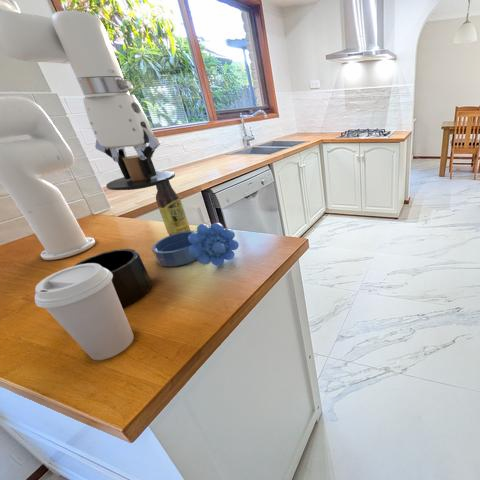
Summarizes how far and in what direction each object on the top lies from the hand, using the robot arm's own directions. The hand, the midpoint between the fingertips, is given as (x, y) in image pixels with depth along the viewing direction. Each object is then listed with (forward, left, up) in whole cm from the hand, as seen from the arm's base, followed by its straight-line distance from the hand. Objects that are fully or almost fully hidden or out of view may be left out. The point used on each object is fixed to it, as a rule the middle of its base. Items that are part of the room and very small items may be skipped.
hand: (140, 176), depth 67 cm
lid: (0, 0, -1) cm, 1 cm away
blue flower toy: (+15, +1, -23) cm, 28 cm away
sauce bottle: (-12, +13, -23) cm, 29 cm away
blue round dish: (0, +3, -23) cm, 23 cm away
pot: (0, -15, -23) cm, 28 cm away
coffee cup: (+14, -26, -23) cm, 38 cm away
